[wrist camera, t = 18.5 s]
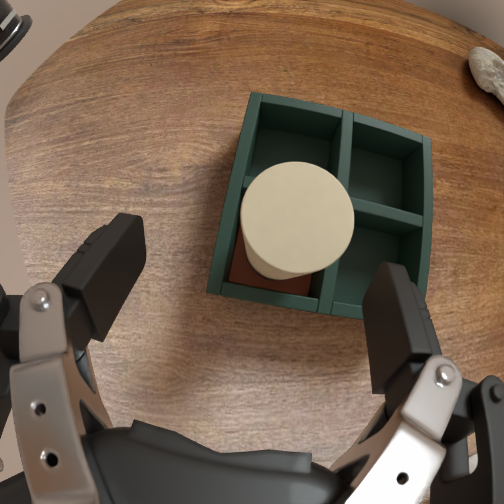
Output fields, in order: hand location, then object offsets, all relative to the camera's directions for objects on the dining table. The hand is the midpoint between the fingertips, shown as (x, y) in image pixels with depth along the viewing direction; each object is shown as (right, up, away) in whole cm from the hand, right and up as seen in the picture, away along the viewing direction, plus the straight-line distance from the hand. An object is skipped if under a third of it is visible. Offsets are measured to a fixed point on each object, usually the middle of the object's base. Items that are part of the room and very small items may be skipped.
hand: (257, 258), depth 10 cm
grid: (+5, +3, +11) cm, 13 cm away
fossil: (+31, +22, +14) cm, 41 cm away
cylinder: (+1, 0, +10) cm, 10 cm away
